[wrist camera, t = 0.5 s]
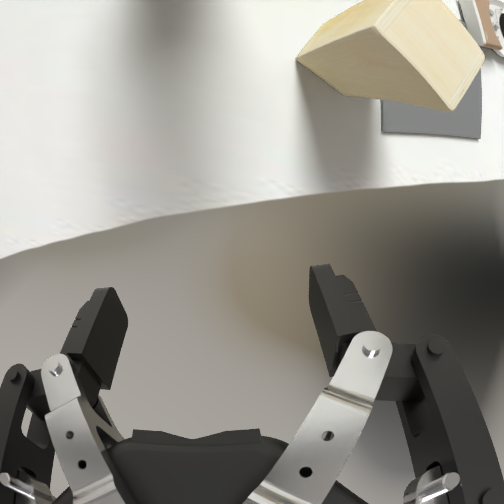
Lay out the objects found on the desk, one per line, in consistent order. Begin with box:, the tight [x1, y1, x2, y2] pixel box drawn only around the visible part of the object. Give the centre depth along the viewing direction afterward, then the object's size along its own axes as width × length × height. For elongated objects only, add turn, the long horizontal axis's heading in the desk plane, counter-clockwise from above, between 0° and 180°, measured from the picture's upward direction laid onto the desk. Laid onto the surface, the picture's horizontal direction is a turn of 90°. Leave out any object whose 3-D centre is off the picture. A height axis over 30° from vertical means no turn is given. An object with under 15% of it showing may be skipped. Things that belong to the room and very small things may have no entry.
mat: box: [381, 19, 482, 139], centre depth 29 cm, size 20×20×1 cm
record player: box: [459, 0, 504, 58], centre depth 21 cm, size 12×3×20 cm
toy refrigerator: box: [296, 0, 485, 112], centre depth 20 cm, size 8×7×21 cm
